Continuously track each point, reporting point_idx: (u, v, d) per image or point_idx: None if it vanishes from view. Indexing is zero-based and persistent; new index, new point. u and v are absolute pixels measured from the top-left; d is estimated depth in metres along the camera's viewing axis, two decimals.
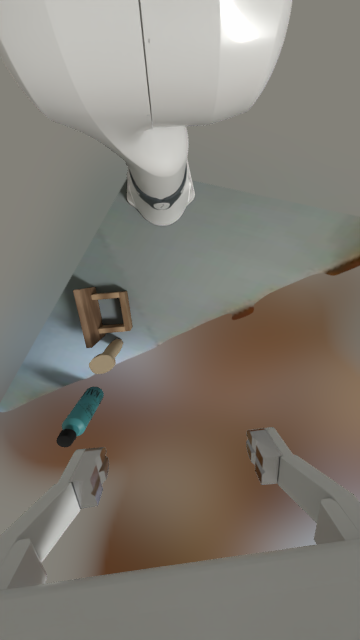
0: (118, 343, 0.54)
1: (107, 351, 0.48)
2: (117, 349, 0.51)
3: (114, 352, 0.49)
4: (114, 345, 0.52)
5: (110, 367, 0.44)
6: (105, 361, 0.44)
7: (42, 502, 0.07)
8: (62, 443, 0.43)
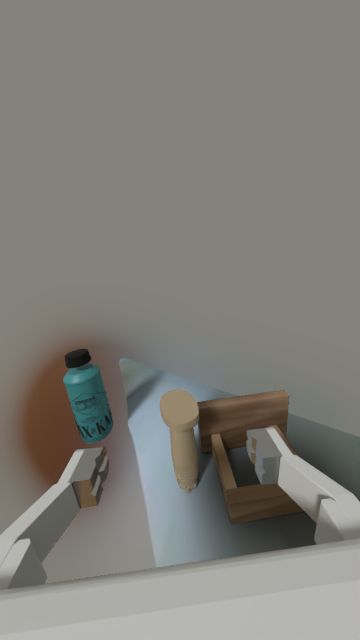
0: (195, 470, 0.25)
1: None
2: (188, 459, 0.24)
3: (187, 446, 0.23)
4: (196, 455, 0.25)
5: (171, 417, 0.21)
6: (184, 410, 0.22)
7: (42, 502, 0.07)
8: (75, 351, 0.32)
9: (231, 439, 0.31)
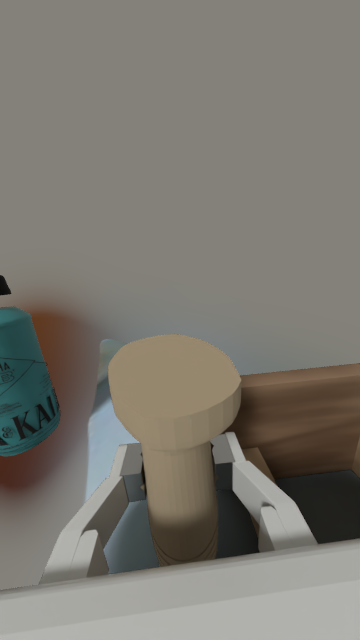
0: (211, 556, 0.09)
1: None
2: (194, 533, 0.08)
3: (193, 493, 0.07)
4: (215, 512, 0.09)
5: (134, 392, 0.05)
6: (188, 371, 0.06)
7: (99, 495, 0.07)
8: None
9: (281, 460, 0.15)
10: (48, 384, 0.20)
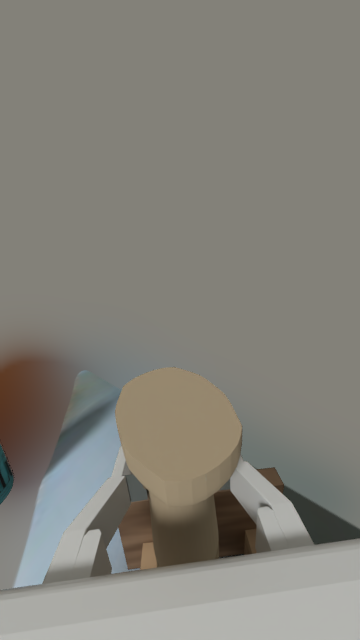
0: None
1: None
2: None
3: (199, 525, 0.08)
4: (216, 535, 0.09)
5: (149, 450, 0.06)
6: (193, 417, 0.07)
7: (101, 494, 0.07)
8: None
9: None
10: None
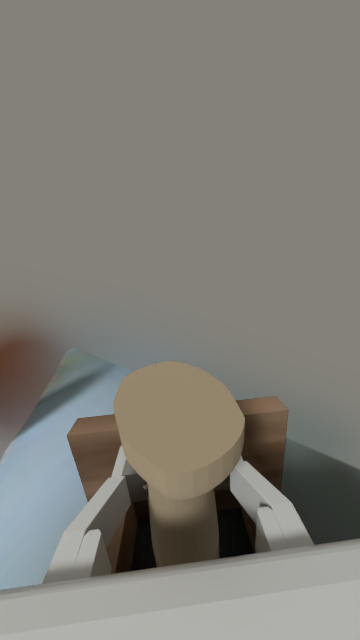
0: None
1: None
2: (200, 558, 0.08)
3: (200, 521, 0.08)
4: (217, 532, 0.09)
5: (148, 441, 0.06)
6: (194, 410, 0.07)
7: (101, 494, 0.07)
8: None
9: None
10: None
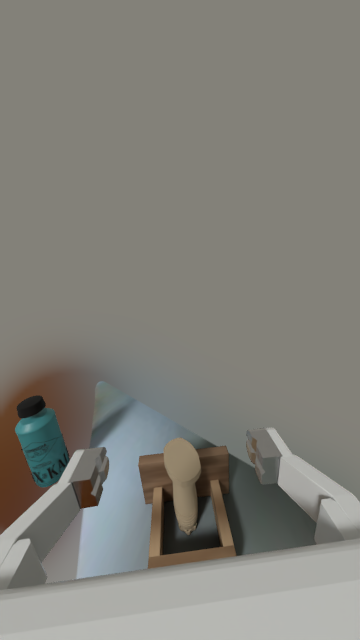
0: (195, 514, 0.27)
1: None
2: (190, 507, 0.26)
3: (189, 495, 0.26)
4: (196, 500, 0.27)
5: (176, 473, 0.24)
6: (187, 463, 0.25)
7: (42, 502, 0.07)
8: (29, 399, 0.34)
9: None
10: (63, 446, 0.37)
